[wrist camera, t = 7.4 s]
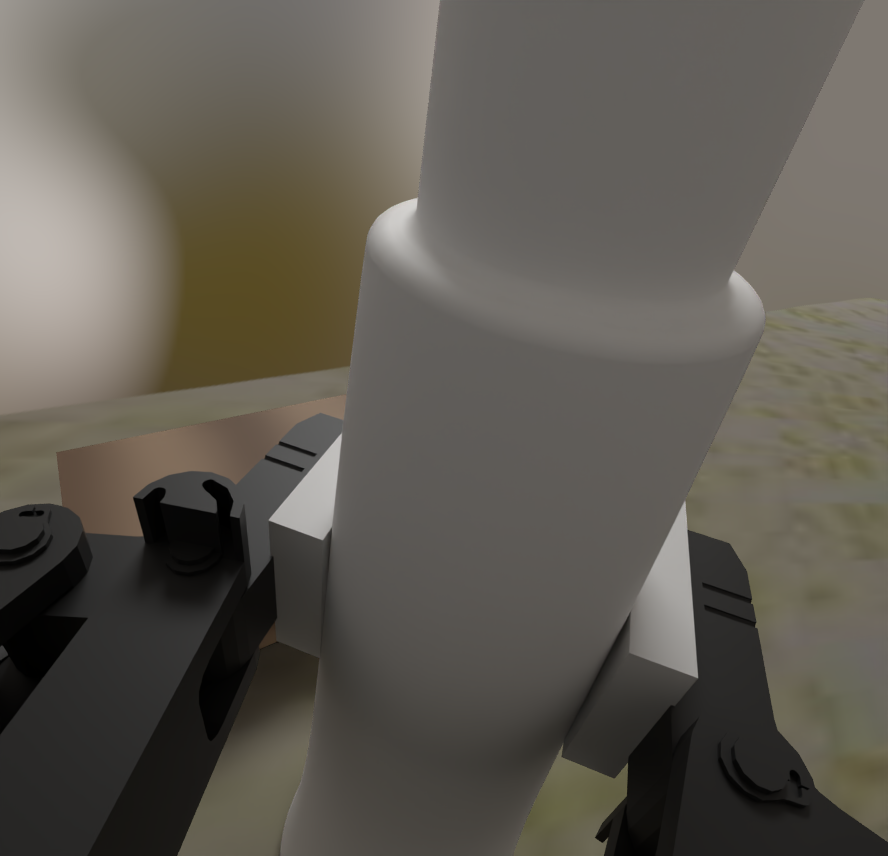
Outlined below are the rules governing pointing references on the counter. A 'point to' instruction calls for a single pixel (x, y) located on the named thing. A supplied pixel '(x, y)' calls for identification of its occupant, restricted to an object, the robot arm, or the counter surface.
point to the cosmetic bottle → (536, 390)
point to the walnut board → (173, 463)
